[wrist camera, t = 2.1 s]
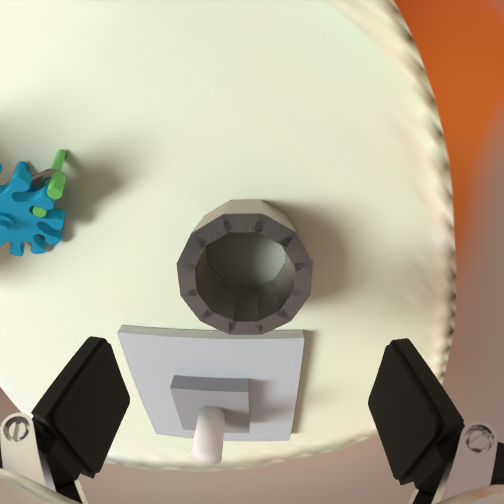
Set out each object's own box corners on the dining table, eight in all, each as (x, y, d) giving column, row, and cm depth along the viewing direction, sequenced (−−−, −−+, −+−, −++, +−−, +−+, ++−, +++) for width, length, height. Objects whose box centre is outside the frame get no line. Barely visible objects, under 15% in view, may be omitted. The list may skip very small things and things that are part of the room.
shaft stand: (122, 325, 20) (83, 384, 13) (302, 329, 20) (319, 401, 13) (158, 426, 25) (143, 477, 18) (288, 433, 25) (294, 488, 18)
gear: (4, 270, 17) (-71, 211, 8) (16, 215, 19) (-43, 150, 10) (100, 244, 18) (17, 146, 9) (106, 182, 20) (52, 86, 11)
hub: (190, 201, 17) (172, 215, 13) (301, 199, 17) (315, 213, 13) (198, 299, 19) (186, 333, 15) (296, 299, 19) (306, 333, 15)
